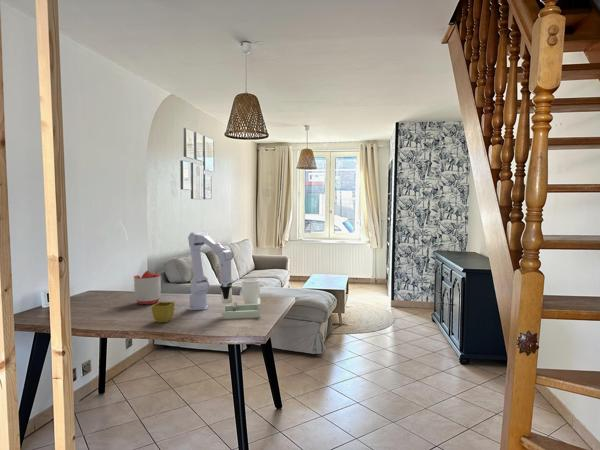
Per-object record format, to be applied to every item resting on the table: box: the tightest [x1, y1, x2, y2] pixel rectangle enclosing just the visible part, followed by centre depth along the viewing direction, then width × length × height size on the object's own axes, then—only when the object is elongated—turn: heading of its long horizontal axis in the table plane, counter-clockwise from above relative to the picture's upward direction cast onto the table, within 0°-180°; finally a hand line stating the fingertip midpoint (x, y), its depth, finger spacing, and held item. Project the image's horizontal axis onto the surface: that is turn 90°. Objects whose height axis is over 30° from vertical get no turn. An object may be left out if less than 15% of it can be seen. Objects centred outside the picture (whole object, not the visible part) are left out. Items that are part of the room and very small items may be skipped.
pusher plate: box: [233, 302, 238, 311], centre depth 214 cm, size 2×11×5 cm, turn 6°
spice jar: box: [220, 284, 233, 305], centre depth 213 cm, size 6×6×9 cm
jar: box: [241, 278, 261, 305], centre depth 236 cm, size 11×10×15 cm
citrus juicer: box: [133, 270, 162, 305], centre depth 245 cm, size 16×17×20 cm
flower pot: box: [150, 301, 175, 323], centre depth 204 cm, size 9×9×9 cm
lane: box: [222, 297, 262, 320], centre depth 215 cm, size 20×15×7 cm
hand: (226, 297), depth 213 cm, fingers closed on spice jar, 5 cm apart
